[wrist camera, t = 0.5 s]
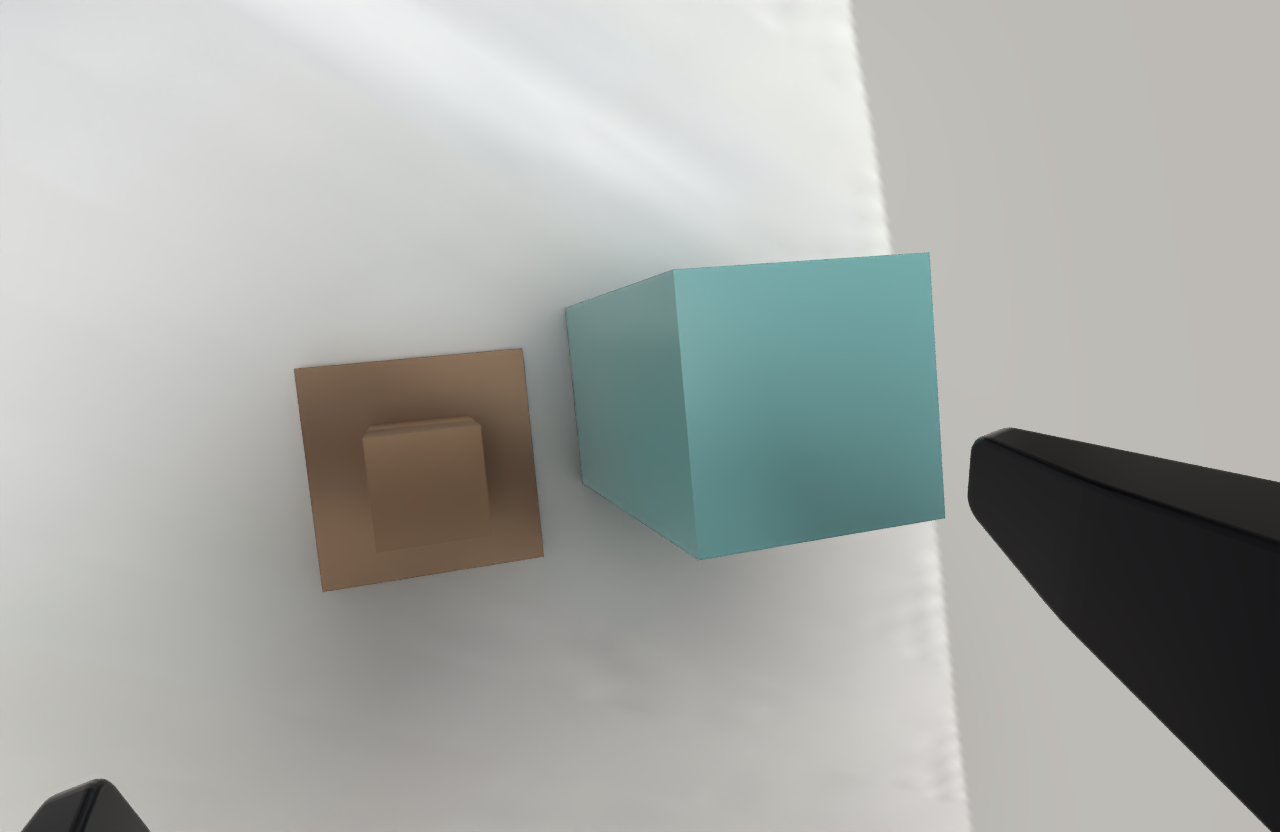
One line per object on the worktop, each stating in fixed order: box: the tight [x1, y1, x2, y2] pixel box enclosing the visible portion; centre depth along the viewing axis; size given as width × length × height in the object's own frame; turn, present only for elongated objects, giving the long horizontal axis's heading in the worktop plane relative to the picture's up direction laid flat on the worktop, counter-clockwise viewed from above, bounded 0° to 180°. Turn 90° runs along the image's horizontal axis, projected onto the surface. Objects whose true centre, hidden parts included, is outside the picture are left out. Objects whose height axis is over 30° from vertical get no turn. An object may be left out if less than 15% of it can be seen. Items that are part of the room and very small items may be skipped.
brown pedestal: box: [294, 348, 544, 592], centre depth 21 cm, size 6×6×5 cm
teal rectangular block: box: [565, 252, 945, 560], centre depth 20 cm, size 5×5×10 cm
